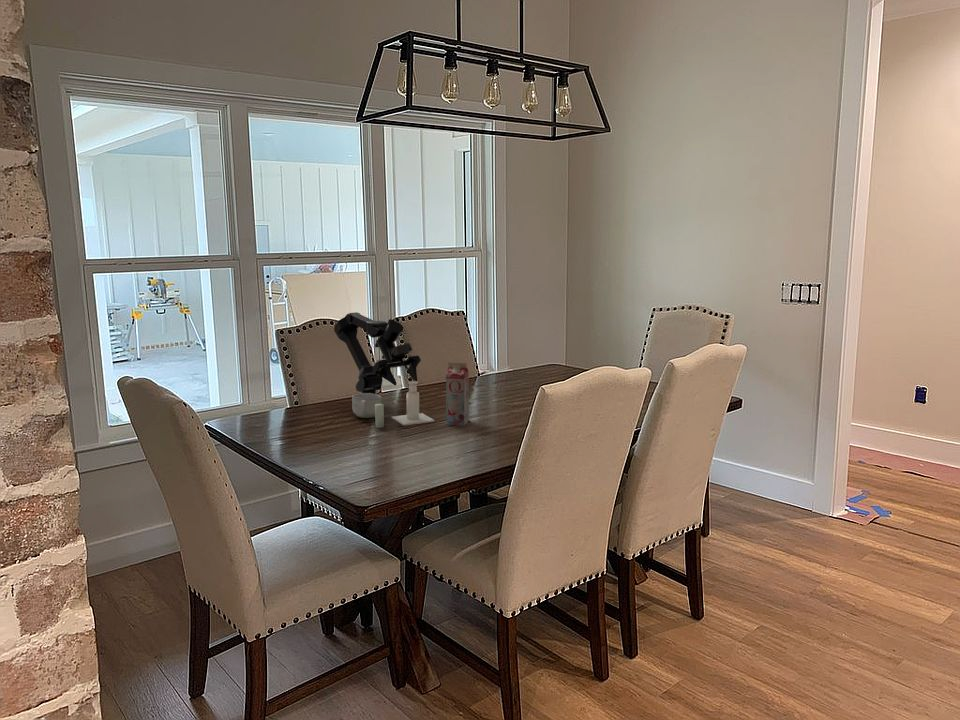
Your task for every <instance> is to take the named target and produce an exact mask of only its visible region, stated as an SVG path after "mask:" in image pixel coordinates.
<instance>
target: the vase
mask: <svg viewBox="0 0 960 720" xmlns="http://www.w3.org/2000/svg"><path fill="white" fill-rule="evenodd" d="M418 381H419V380H417V381H414V380H409V381H407V384H408V391H407V392H406V415H407V419H409V420H416V419H419V413H420V392H419V391H417V389H418V388H417V385H418V383H419V382H418Z"/></svg>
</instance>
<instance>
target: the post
mask: <svg viewBox="0 0 960 720" xmlns="http://www.w3.org/2000/svg"><path fill="white" fill-rule="evenodd" d="M384 407H385V405H384V403H381V404H375V417H374V418H375V419H374V420H375V428H376V429H377V428H379V429H381V428H384V427H385V416H384V415H385V414H384V413H385V412H384Z"/></svg>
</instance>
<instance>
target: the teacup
mask: <svg viewBox="0 0 960 720" xmlns="http://www.w3.org/2000/svg"><path fill="white" fill-rule="evenodd" d="M351 398H352V399H351V402H352V404H351V406H352V412H353V413H354V414H355V416H356V417H358V418H361V419H364V418H366V419H368V418H369V419H370V418H375V404H382V395H381V394H377V393H376V394H371V393H362V392H359V393H354V394H352V395H351Z"/></svg>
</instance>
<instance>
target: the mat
mask: <svg viewBox="0 0 960 720" xmlns="http://www.w3.org/2000/svg"><path fill="white" fill-rule="evenodd" d="M391 419H392V420H394V421H396V422H397V423H399V424H400V425H402V426H412V425H413V426H414V425H418V424H419V425H421V424H427V423H435V419H433V418H431V417H430V416H428V415H426V414H424V413H423V412H421V413H420V412H419V419H416V420H409V419H407V414H404V415H403V414H402V415H393V416H391Z"/></svg>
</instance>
